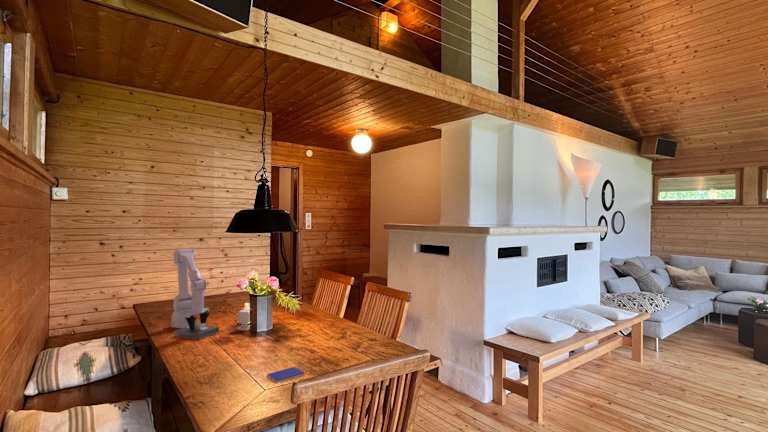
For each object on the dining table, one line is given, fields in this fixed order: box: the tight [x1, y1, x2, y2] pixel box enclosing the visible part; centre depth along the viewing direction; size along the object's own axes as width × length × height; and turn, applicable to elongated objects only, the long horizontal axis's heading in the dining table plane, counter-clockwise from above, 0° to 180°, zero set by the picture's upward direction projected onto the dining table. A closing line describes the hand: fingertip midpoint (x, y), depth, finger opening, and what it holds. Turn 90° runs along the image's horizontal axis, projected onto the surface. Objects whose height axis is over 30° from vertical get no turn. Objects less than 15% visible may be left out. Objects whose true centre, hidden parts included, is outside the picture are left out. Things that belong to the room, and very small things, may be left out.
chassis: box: [174, 324, 220, 341], centre depth 210 cm, size 16×14×3 cm
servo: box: [186, 320, 208, 331], centre depth 210 cm, size 11×4×6 cm, turn 73°
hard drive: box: [266, 366, 305, 383], centre depth 159 cm, size 2×8×12 cm
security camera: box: [236, 308, 251, 331], centre depth 223 cm, size 6×7×10 cm
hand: (197, 327), depth 210 cm, fingers open, 7 cm apart
